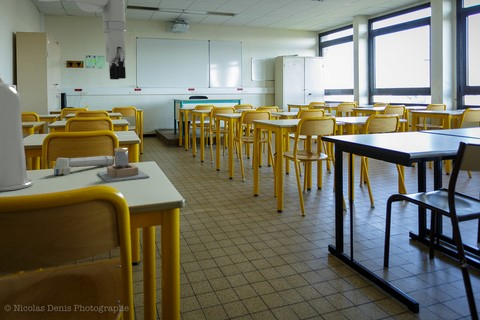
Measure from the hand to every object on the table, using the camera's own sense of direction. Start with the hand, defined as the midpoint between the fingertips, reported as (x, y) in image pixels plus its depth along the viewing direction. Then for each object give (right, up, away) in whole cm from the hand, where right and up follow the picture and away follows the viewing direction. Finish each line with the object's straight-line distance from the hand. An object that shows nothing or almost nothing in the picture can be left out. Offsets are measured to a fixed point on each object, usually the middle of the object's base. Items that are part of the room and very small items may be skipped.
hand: (117, 78), depth 140 cm
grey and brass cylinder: (+2, -34, -2) cm, 34 cm away
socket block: (+2, -34, -2) cm, 34 cm away
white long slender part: (-15, -33, +10) cm, 37 cm away
